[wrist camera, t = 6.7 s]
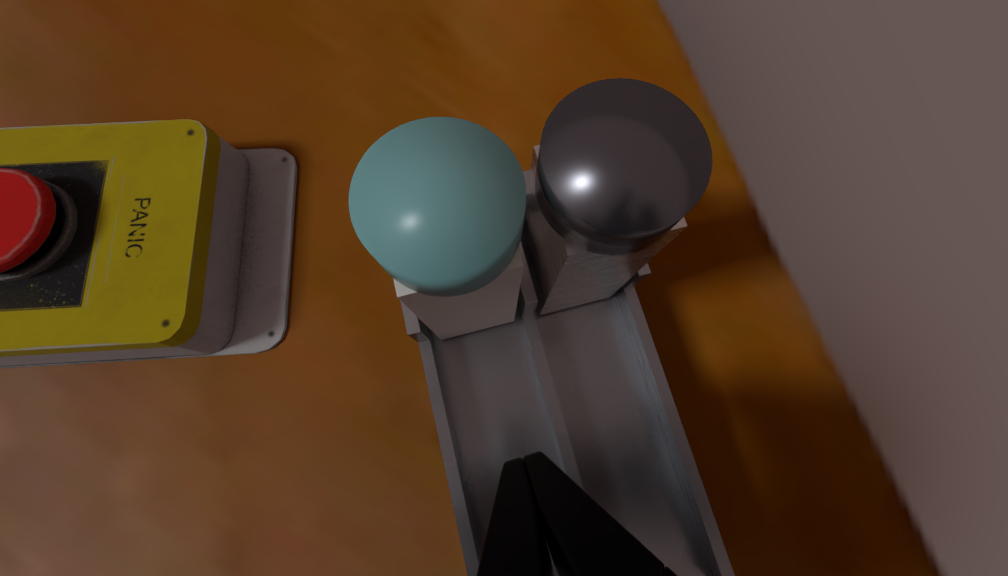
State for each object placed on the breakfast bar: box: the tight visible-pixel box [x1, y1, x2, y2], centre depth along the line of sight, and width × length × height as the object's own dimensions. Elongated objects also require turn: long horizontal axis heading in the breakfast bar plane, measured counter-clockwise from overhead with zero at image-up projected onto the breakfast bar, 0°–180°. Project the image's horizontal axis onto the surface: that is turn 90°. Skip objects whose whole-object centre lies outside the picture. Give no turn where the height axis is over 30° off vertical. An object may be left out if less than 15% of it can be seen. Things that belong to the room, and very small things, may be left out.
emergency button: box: [0, 119, 298, 368], centre depth 17 cm, size 9×4×15 cm
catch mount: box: [400, 78, 735, 576], centre depth 12 cm, size 14×8×10 cm, turn 15°
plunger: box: [349, 117, 527, 340], centre depth 12 cm, size 3×3×8 cm
